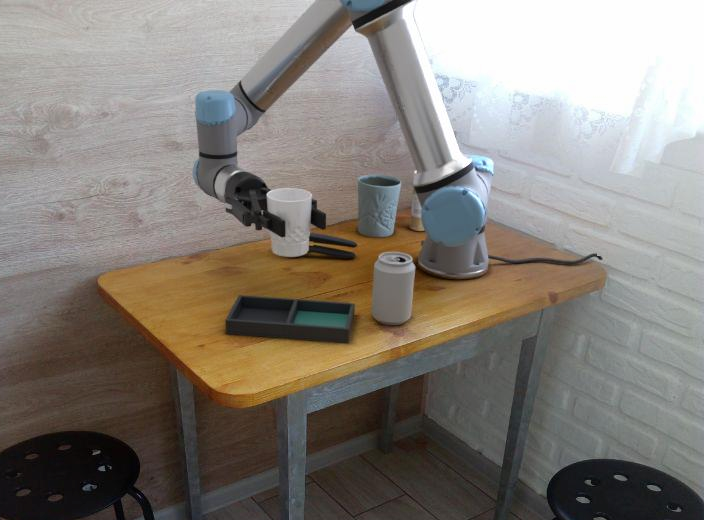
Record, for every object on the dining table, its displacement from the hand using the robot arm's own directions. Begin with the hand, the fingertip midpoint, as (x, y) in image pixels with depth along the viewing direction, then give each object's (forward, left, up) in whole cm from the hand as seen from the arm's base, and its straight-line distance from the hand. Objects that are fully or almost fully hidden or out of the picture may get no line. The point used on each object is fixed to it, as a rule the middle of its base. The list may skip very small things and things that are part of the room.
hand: (304, 225), depth 132 cm
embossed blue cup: (-10, -53, -18) cm, 57 cm away
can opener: (+2, -34, -18) cm, 38 cm away
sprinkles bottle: (-20, -57, -18) cm, 63 cm away
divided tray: (+2, +2, -18) cm, 18 cm away
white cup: (+3, -4, -6) cm, 8 cm away
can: (-16, -4, -18) cm, 24 cm away
